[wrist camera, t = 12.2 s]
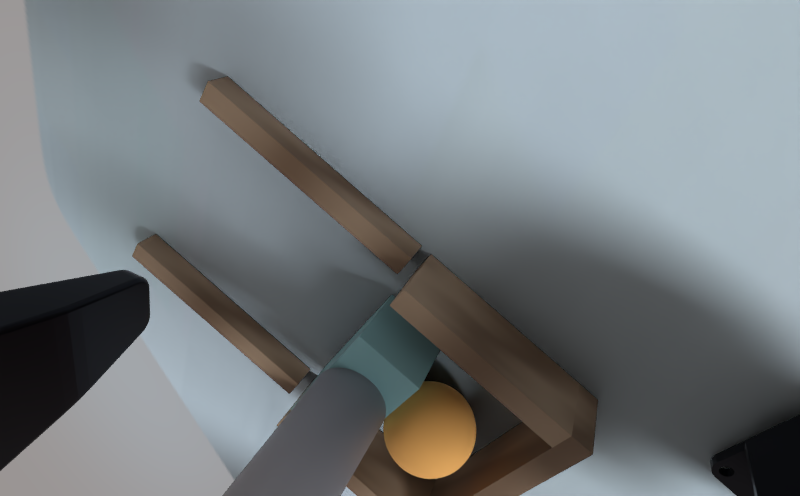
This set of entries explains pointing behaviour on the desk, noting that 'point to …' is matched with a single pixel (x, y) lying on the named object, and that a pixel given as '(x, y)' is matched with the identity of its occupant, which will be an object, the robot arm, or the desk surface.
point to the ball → (431, 431)
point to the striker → (341, 411)
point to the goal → (422, 307)
